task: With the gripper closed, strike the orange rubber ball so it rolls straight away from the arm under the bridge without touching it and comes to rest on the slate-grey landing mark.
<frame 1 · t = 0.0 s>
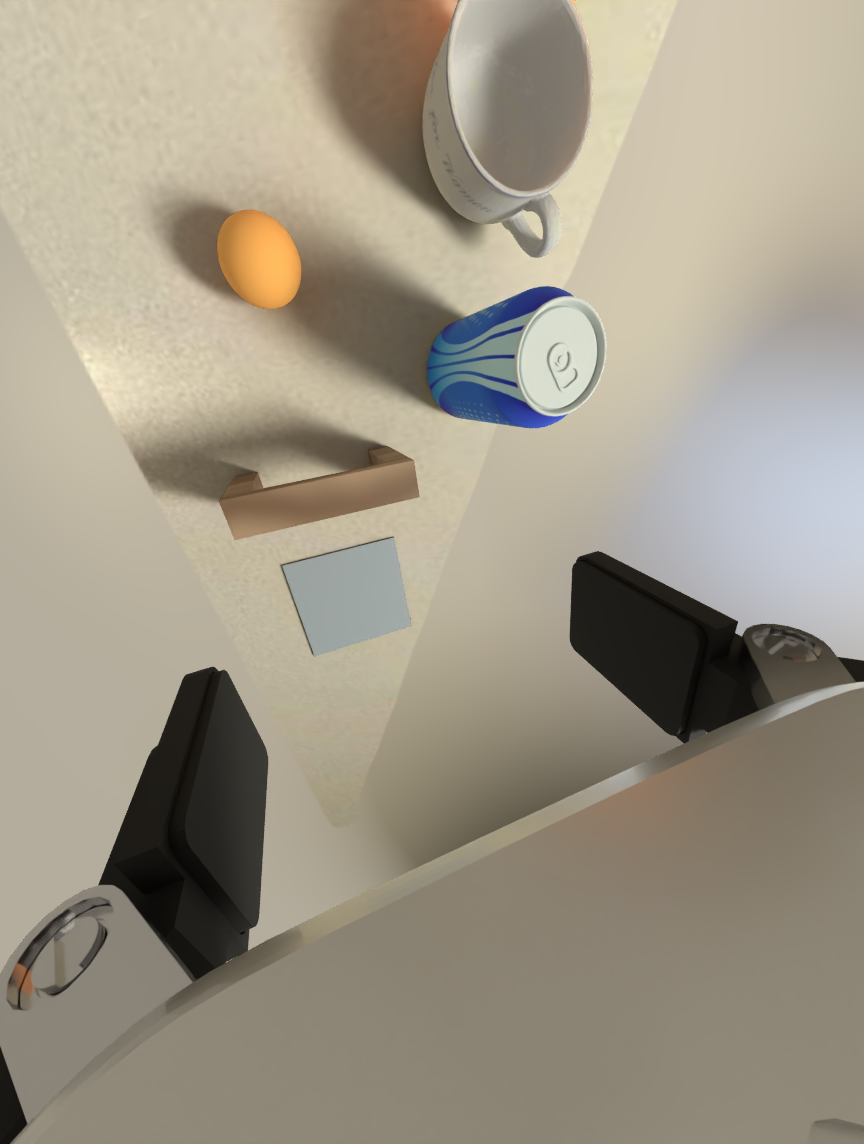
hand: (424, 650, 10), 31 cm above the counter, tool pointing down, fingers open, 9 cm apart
landing mark: (352, 598, 44), on the counter
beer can: (462, 372, 38), on the counter
ball: (261, 262, 27), on the counter
bridge: (319, 476, 37), on the counter
teacup: (478, 180, 32), on the counter
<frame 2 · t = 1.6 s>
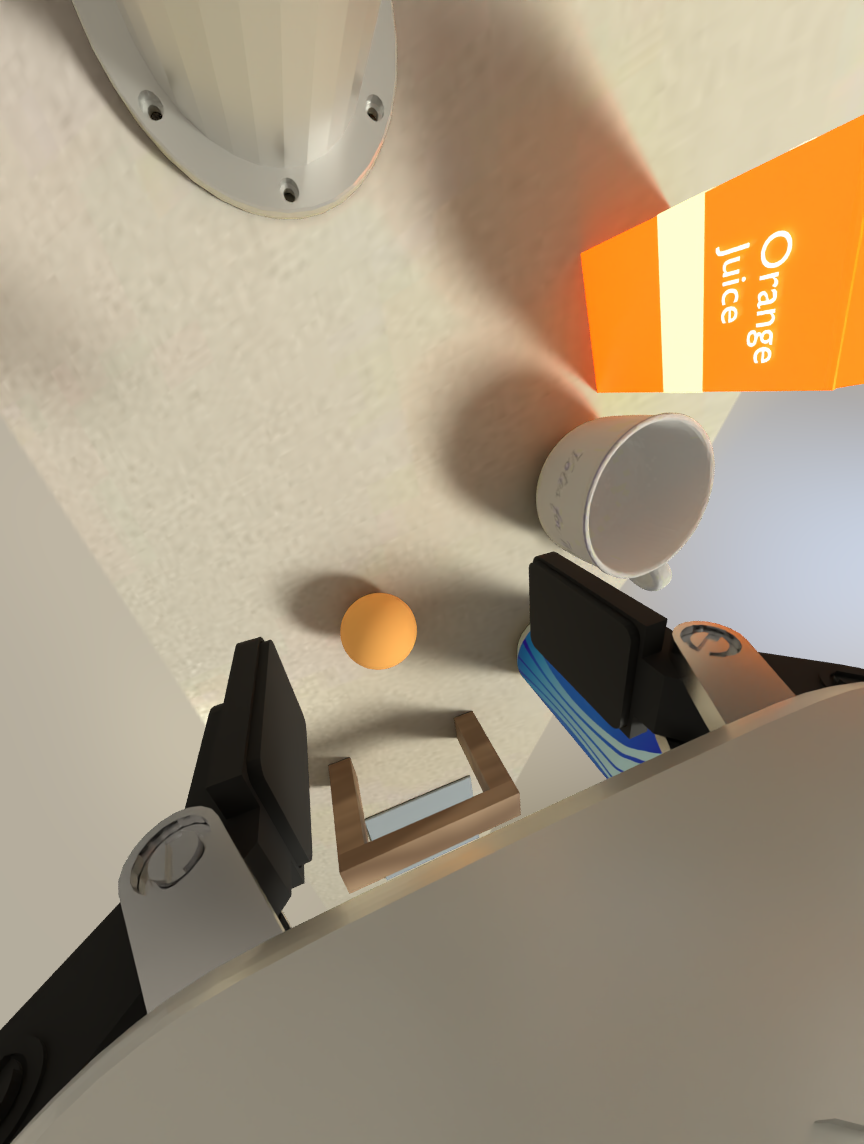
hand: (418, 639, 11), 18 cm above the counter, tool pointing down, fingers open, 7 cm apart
landing mark: (426, 828, 44), on the counter
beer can: (546, 639, 38), on the counter
ball: (379, 630, 28), on the counter
bridge: (406, 747, 37), on the counter
orange juice: (631, 309, 27), on the counter
teacup: (577, 497, 32), on the counter
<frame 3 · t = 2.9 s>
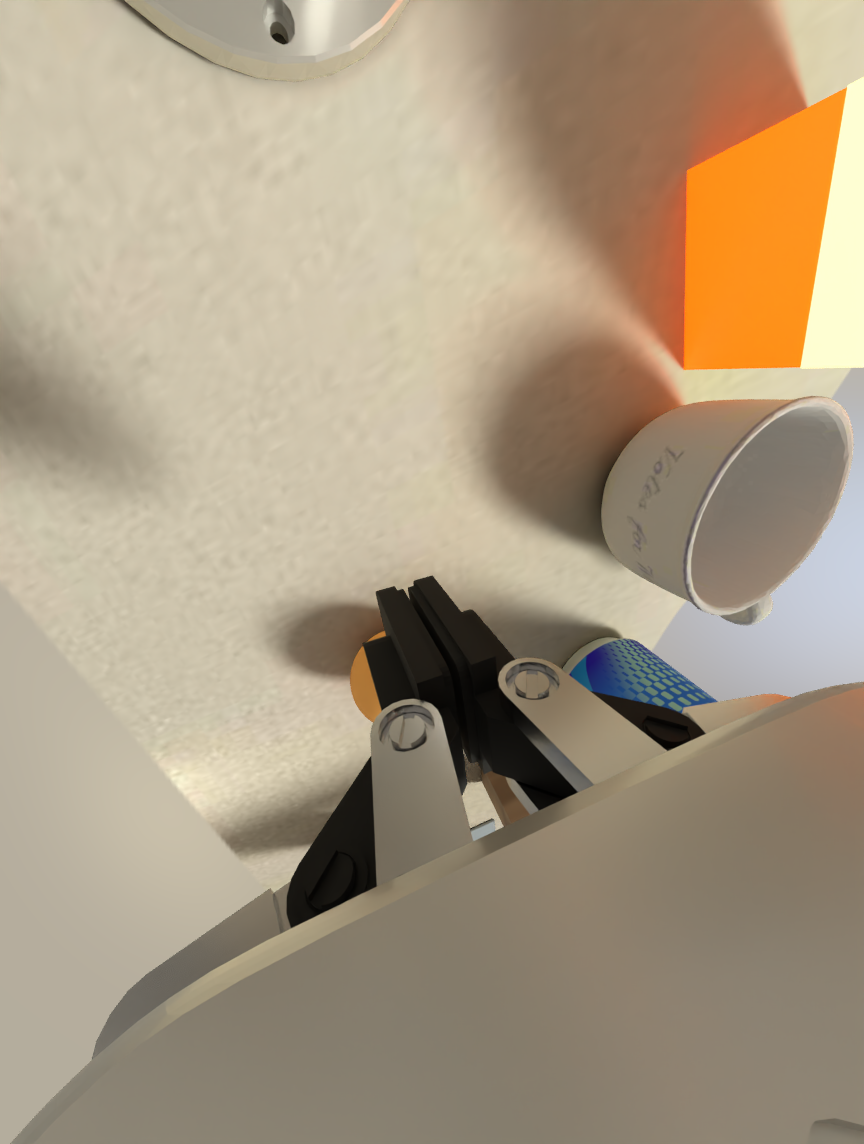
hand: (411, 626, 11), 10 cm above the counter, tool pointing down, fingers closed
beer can: (590, 669, 32), on the counter
ball: (399, 677, 22), on the counter
bridge: (423, 795, 32), on the counter
orange juice: (739, 256, 20), on the counter
teacup: (643, 503, 26), on the counter
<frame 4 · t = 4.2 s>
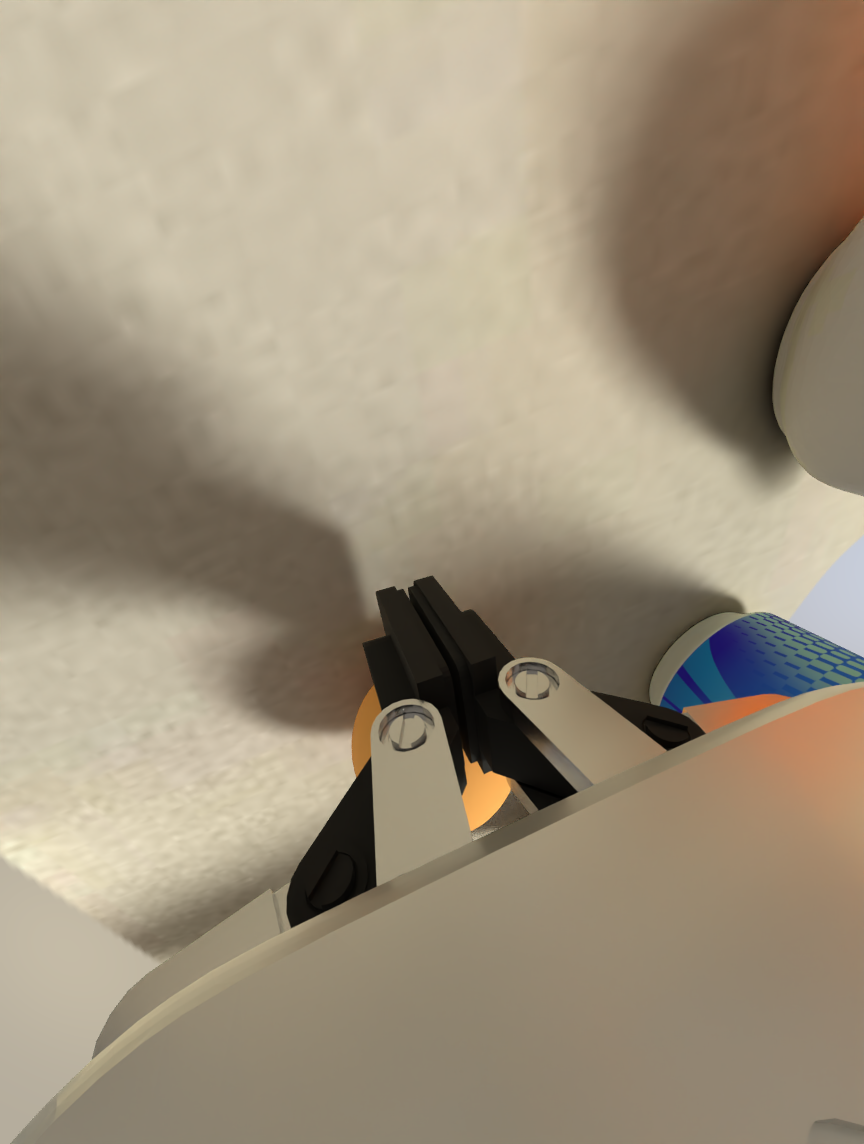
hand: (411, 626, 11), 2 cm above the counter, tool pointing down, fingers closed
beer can: (695, 662, 22), on the counter
ball: (435, 738, 13), on the counter
teacup: (821, 381, 16), on the counter
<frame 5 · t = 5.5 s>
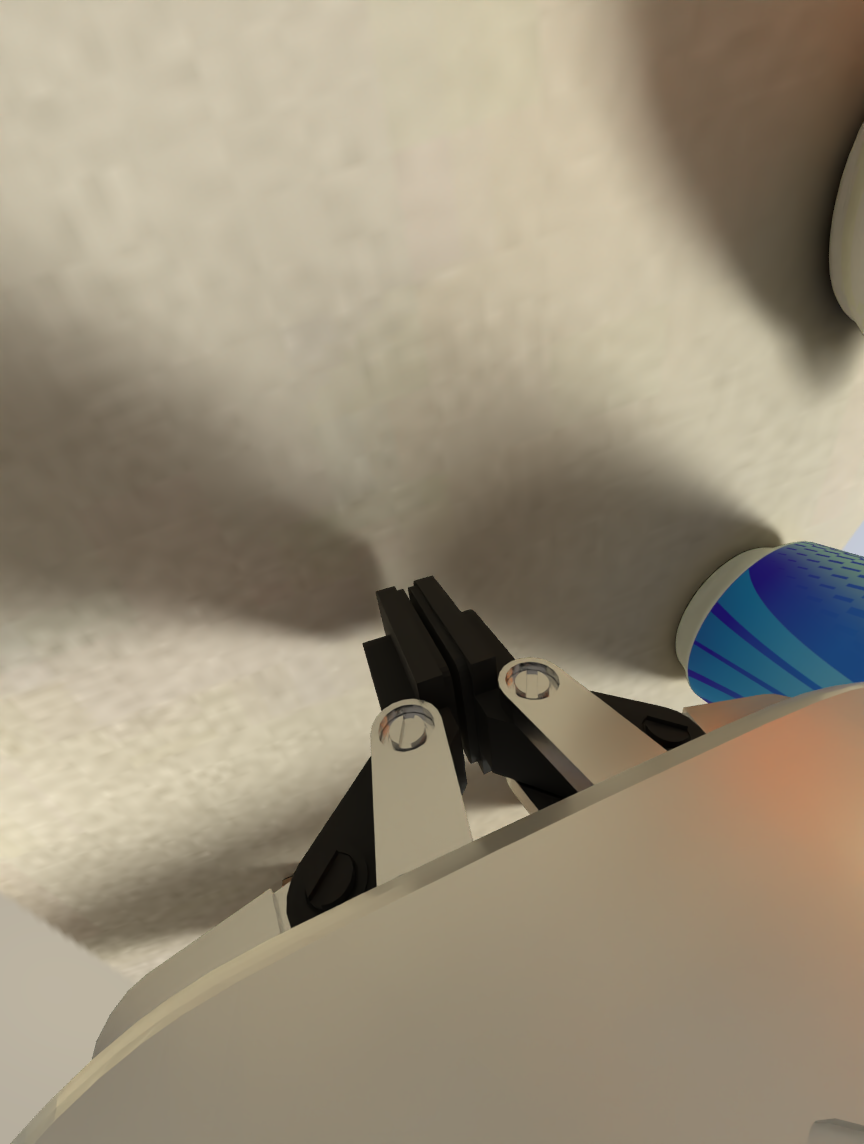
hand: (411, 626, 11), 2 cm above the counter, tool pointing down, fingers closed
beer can: (727, 610, 19), on the counter
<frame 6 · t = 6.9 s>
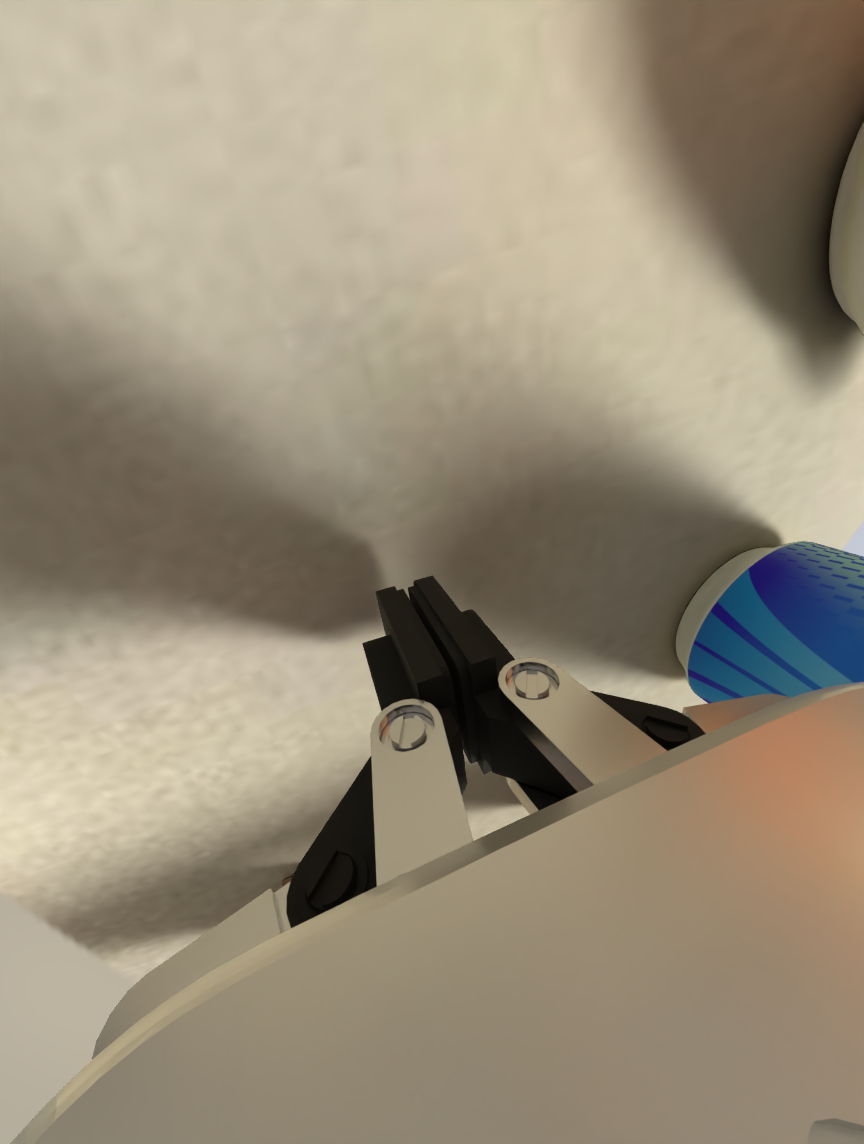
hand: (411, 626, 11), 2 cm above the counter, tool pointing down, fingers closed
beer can: (727, 610, 19), on the counter
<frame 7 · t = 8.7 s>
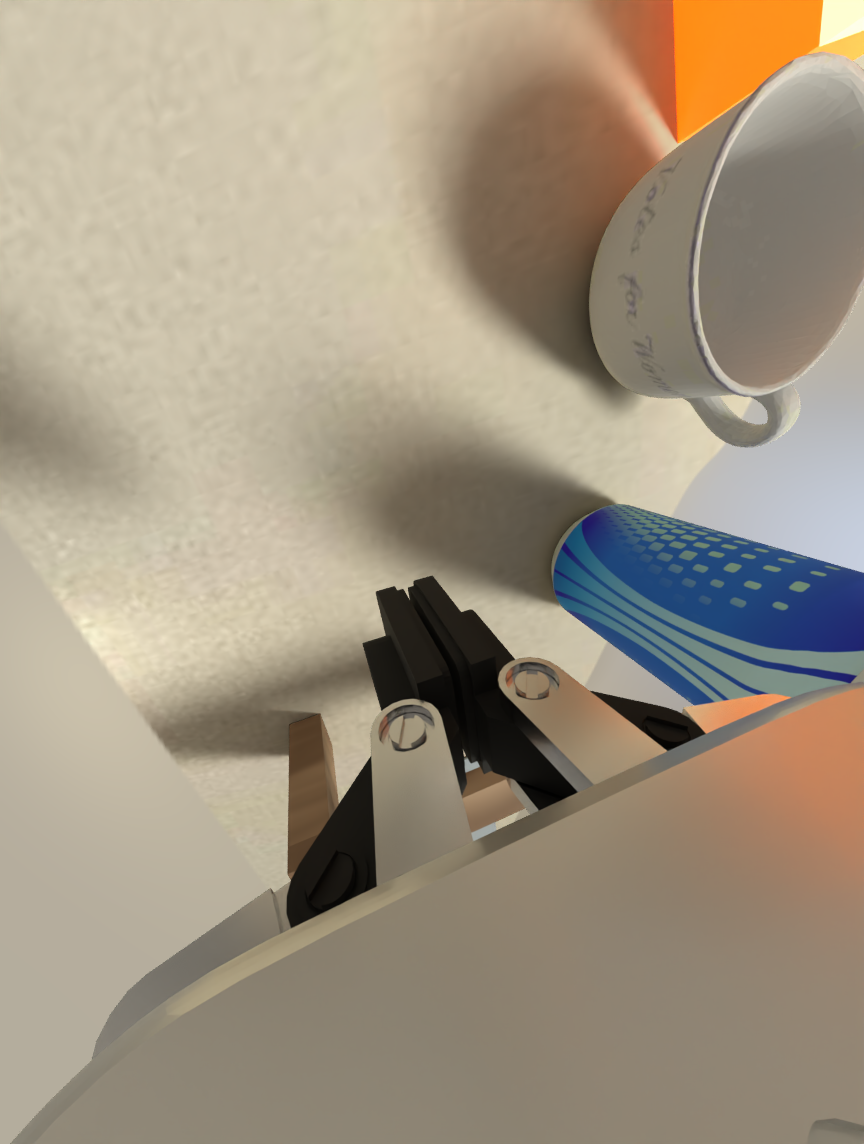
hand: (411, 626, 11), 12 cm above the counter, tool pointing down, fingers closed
landing mark: (429, 821, 33), on the counter
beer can: (589, 556, 28), on the counter
bridge: (399, 703, 27), on the counter
teacup: (639, 329, 23), on the counter
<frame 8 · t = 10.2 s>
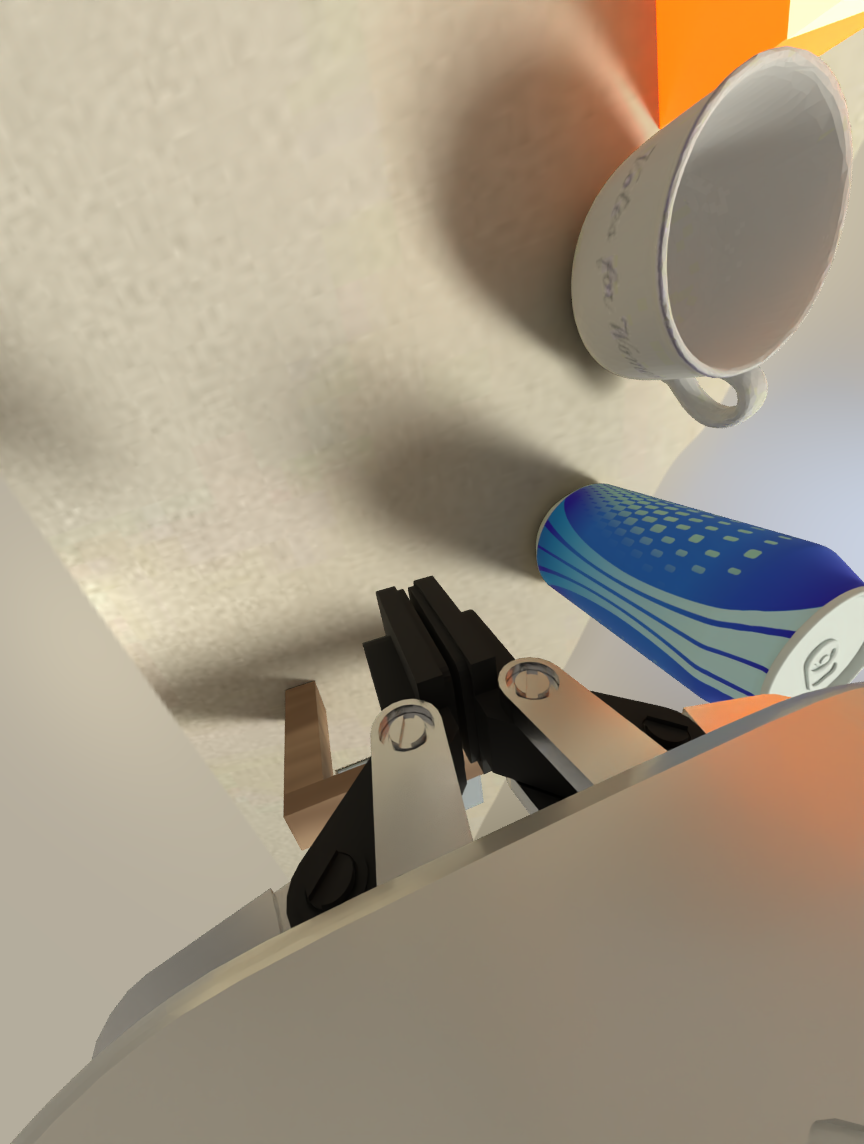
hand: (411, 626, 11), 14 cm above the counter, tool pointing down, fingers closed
landing mark: (418, 787, 35), on the counter
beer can: (573, 534, 29), on the counter
bridge: (390, 672, 29), on the counter
teacup: (622, 313, 24), on the counter
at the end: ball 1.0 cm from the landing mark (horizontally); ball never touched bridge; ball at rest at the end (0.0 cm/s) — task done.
